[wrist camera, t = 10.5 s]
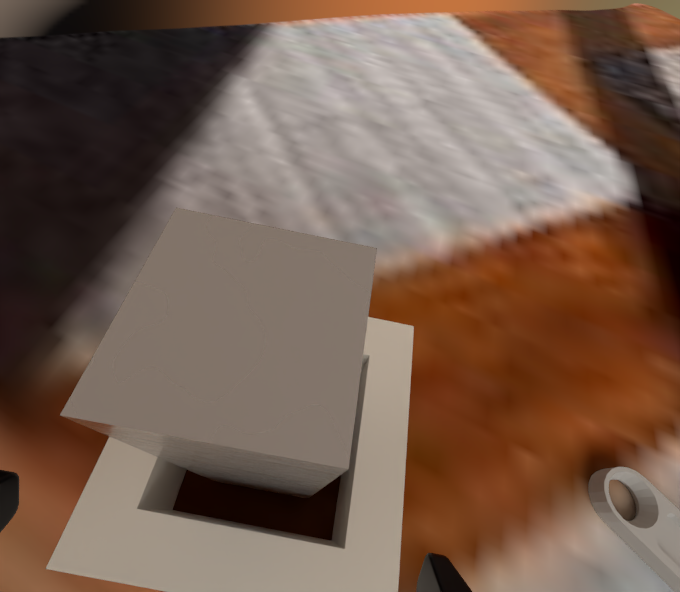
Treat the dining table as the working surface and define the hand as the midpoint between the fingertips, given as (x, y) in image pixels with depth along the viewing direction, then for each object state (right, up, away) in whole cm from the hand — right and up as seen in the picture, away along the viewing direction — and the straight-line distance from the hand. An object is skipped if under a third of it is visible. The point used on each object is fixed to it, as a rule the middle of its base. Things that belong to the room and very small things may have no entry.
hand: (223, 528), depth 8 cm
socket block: (0, -1, +8) cm, 8 cm away
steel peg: (0, -1, +8) cm, 9 cm away
